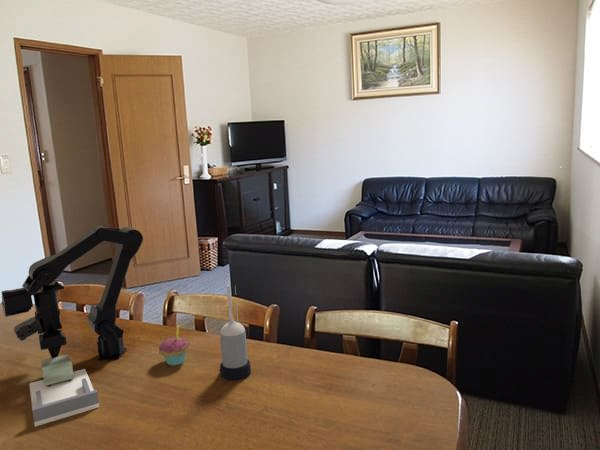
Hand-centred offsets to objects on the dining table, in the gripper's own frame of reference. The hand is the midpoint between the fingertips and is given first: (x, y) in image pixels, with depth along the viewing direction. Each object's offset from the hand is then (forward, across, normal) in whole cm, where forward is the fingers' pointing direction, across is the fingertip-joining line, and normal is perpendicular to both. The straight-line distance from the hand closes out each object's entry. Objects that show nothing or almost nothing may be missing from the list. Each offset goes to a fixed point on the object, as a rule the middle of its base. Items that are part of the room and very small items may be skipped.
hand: (54, 359), depth 140 cm
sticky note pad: (+3, +6, 0) cm, 7 cm away
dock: (+5, +15, 0) cm, 16 cm away
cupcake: (+4, +14, +30) cm, 33 cm away
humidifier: (+4, +31, +42) cm, 52 cm away
